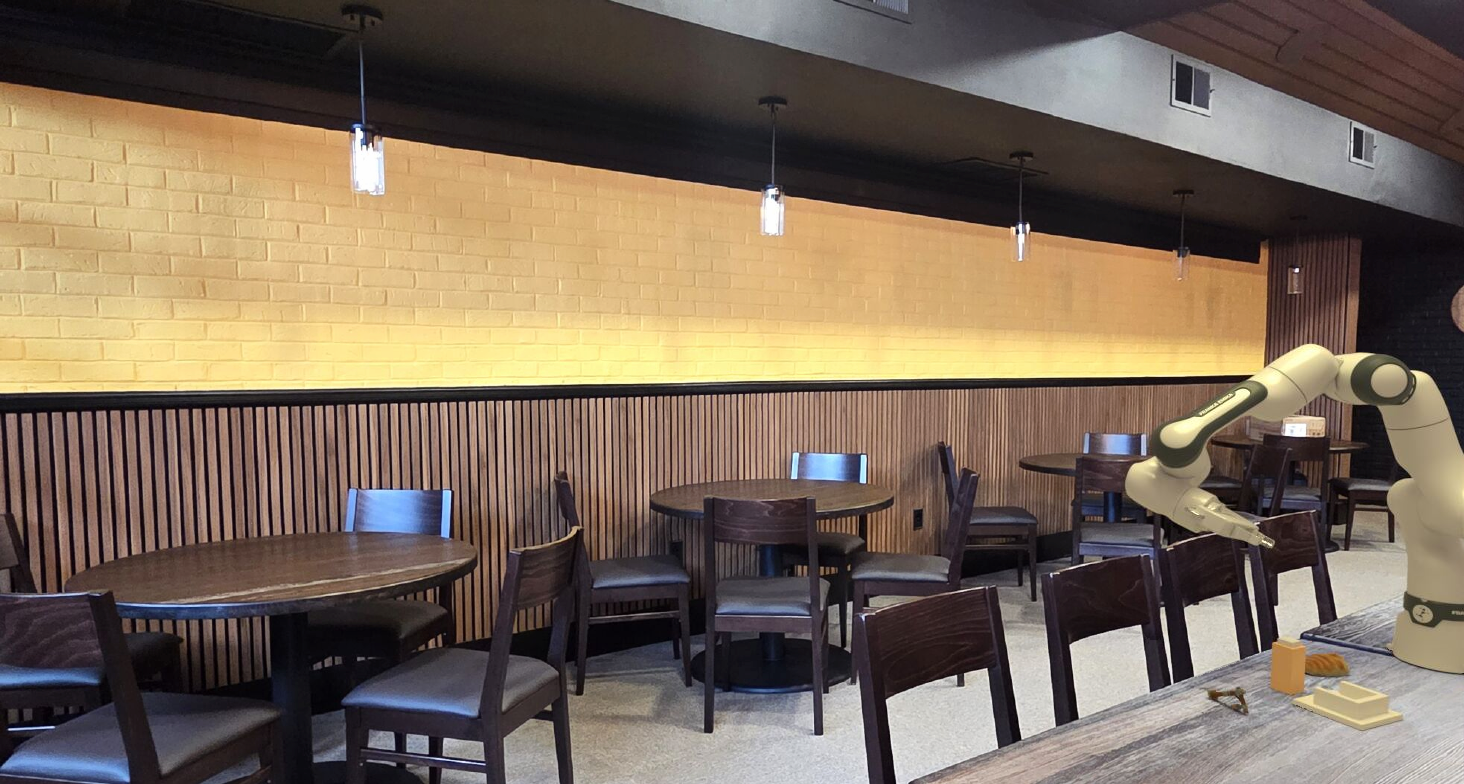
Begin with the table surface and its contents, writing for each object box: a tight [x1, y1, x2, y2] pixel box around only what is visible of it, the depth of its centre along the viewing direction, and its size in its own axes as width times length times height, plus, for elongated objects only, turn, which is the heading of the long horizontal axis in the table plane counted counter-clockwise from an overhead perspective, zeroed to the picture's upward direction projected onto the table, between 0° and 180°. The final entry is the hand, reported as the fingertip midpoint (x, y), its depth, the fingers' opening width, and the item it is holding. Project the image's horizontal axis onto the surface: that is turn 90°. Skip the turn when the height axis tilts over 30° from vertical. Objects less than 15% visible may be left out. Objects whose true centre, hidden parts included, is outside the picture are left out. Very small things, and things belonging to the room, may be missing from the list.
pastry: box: [1305, 652, 1351, 678], centre depth 178 cm, size 9×7×4 cm
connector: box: [1269, 636, 1307, 696], centre depth 168 cm, size 4×4×10 cm
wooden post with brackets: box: [1206, 686, 1250, 714], centre depth 159 cm, size 2×8×4 cm, turn 17°
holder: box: [1292, 680, 1404, 732], centre depth 158 cm, size 12×12×4 cm
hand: (1266, 543), depth 172 cm, fingers open, 8 cm apart
